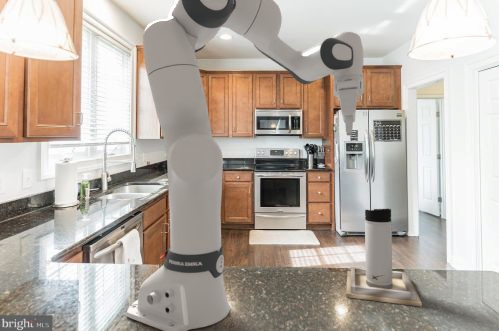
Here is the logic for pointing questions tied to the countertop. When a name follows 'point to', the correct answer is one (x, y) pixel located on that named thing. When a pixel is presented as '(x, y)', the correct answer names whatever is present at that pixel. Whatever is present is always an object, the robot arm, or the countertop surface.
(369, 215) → the travel mug
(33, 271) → the countertop surface
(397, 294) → the square metal tray
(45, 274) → the countertop surface
